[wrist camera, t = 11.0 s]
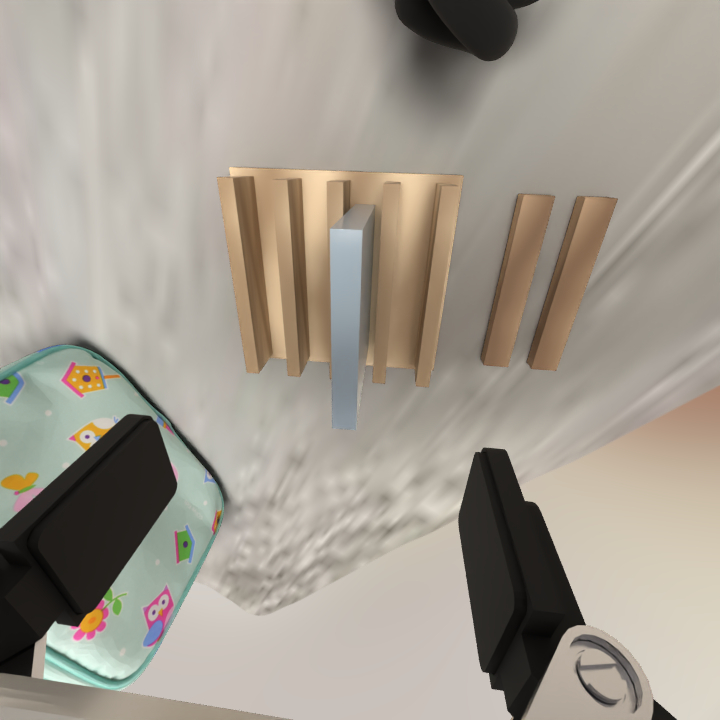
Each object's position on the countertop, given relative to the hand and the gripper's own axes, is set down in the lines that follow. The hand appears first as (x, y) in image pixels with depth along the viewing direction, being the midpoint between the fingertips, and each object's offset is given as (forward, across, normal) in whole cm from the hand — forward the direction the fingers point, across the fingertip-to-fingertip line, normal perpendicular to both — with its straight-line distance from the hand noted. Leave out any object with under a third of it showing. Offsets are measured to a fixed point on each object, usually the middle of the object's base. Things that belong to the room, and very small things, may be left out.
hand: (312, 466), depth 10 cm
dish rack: (+20, +2, 0) cm, 20 cm away
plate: (+19, 0, 0) cm, 19 cm away
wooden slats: (+20, -13, 0) cm, 24 cm away
